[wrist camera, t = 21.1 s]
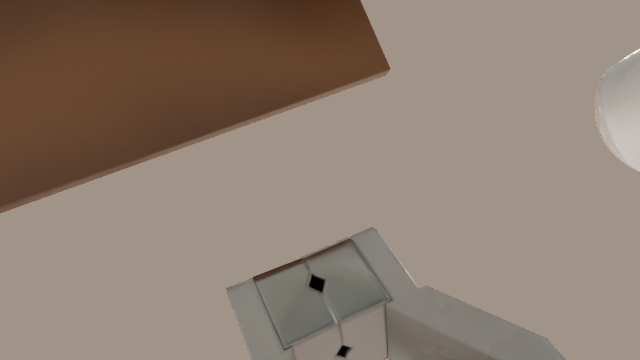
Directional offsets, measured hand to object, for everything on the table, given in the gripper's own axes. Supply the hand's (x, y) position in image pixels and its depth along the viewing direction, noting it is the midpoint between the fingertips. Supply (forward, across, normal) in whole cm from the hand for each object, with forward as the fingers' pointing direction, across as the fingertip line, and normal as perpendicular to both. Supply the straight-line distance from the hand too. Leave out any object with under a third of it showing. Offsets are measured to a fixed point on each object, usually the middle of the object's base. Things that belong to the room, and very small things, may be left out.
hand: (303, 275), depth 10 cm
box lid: (+17, 0, +1) cm, 17 cm away
